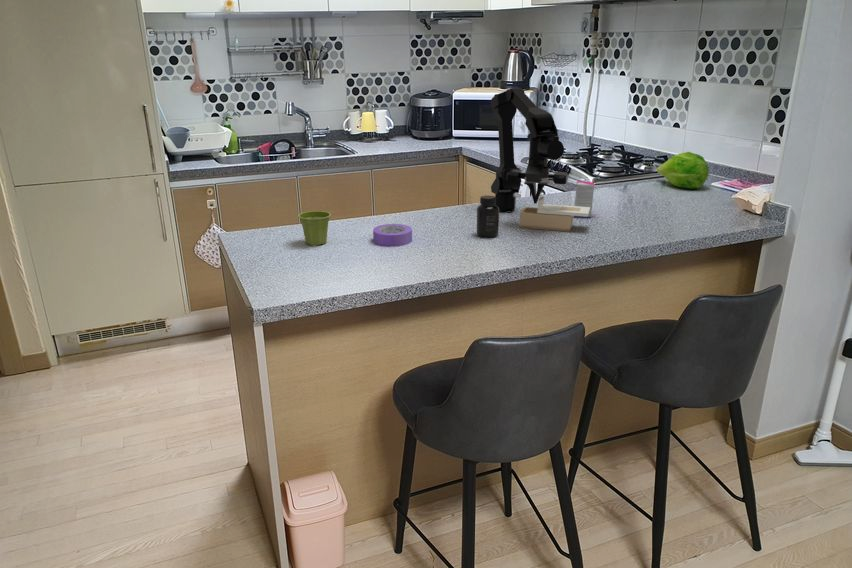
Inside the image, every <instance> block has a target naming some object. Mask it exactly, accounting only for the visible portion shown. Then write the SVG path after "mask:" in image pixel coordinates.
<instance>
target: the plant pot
mask: <svg viewBox="0 0 852 568" xmlns="http://www.w3.org/2000/svg"><path fill="white" fill-rule="evenodd" d="M297 216H298V218H299V221H300V223H301V226H302V232H303V236H304V239H305V244H308V245H309V246H320V245H325V244H327V241H328V228H329V221H330V217H331V216H332V214H331V213H330V212H328V211H322V210H310V211H303V212H301V213H299V214H298V215H297Z"/></svg>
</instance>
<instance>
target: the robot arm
mask: <svg viewBox="0 0 852 568" xmlns="http://www.w3.org/2000/svg"><path fill="white" fill-rule="evenodd" d="M490 107H491V110H492V111H491V112H492V115H493V117H495V119H496V121H497V129H498V130H497V131H498V132H497V133H498V146H499V166H498V168H497V170H496V172H495V178H494V181H493V182H492V184H490V185H491V186H490V188H491V189H490V191H491V194H495V195H494V196H495V197H496V204H495V205H497V206H498V207H499V212H502V213H513V211H514V210H516V204H517V196H515V194H519V193H520V188H521V185H522V180H523V179H524V181H523V182H524V183H523V184H524V185H526V186H527V187H528V188H529V190H530V194H531V197H532V200H533V203H534V204H537V205H538V200H539V198H540V197H541V194H542V191H543V189H544V188H545V186H548V185H549V184H550V181H552V182H553V183H554V184H555V185H566V184H567V183H568V179H569V174H568V173H567V172H566V171H565V172H564V171H555V172H554V174H553V173H552V174H550V167H549V166H548V159H550V160H554V161H555V160H559V159H560V158H561V157H563V155H564V152H565V147H564V144H563V143H562V142H561V141H560V137H559V134H558V132H559V131H558V128H557V126H556V122H555V120H554V119H555V118H554V117H553V115H552V114H551V113H550V112H549V111H548V110H545V109H543V108H539V107H538V106H537V105H536V104H535V103H534V102H533V100H531V99H530V97H529V96H528V95H527V94H526V93H525V90H524V89H523V88H521V87H513V88H508V89H507V90H505V91H502V92H500V93H499V92H498V93H496V94H494V96H493V97H492V98H491V100H490ZM517 111H518V112H520V114H521V115H522V116H523V117H524V119H525V123H524V125H525V127H526V128H527V129H528V131H529V133H528V134H527V136H526V137H527V138H528V139H529V147H528V148H529V149H528V164H527V166H526V171H525V172H522V171H523V170H522V169H521V168H520V167H517V165H516V164H515V151H514V150H515V149H514V127H513V120H514V117H515V116H516V113H517Z"/></svg>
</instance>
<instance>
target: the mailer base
mask: <svg viewBox="0 0 852 568" xmlns="http://www.w3.org/2000/svg"><path fill="white" fill-rule="evenodd" d="M537 210H538V207H537V206H536V207H534V206H523V207H522V209H521V210H520V211H519V224H518V225H519V226H518V228H520V229H531V230H532V229H533V230H543V231H557V232H568V233H569V232H571V230H572V227H573V223H574V222H573V221H574V216H570V215H557V214H543V213H537Z"/></svg>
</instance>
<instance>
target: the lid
mask: <svg viewBox="0 0 852 568" xmlns="http://www.w3.org/2000/svg"><path fill="white" fill-rule="evenodd" d="M545 198H546V196H545V195H543V194H542V195H541V194H540V196H539V199H538V201H537V208H538V210H537V213H543V214H557V215H570V216H573V217H574V216H583V217H588V215H589V212H590V207H580V206H574V205H565V204H564V205H563V204H562V205H561V204H550V203H549V204H548V203H545Z"/></svg>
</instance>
